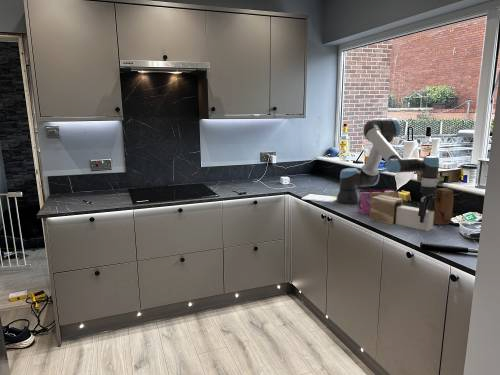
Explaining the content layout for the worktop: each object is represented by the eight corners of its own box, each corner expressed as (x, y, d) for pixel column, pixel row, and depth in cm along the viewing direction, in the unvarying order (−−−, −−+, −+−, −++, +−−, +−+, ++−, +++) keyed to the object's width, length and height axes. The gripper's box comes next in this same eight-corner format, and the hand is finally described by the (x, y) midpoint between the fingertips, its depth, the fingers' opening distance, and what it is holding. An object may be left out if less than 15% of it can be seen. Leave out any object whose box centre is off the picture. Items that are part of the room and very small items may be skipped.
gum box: (361, 214, 233) (362, 193, 230) (355, 211, 240) (356, 190, 238) (397, 212, 236) (398, 191, 233) (390, 209, 243) (392, 189, 241)
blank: (400, 221, 217) (401, 205, 215) (432, 228, 204) (434, 211, 202) (395, 224, 213) (396, 207, 211) (427, 231, 200) (429, 213, 198)
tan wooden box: (379, 215, 229) (380, 194, 226) (401, 220, 219) (402, 198, 216) (370, 219, 222) (371, 197, 219) (392, 224, 212) (394, 201, 209)
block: (440, 220, 219) (443, 187, 215) (452, 223, 212) (456, 189, 208) (428, 223, 214) (431, 189, 209) (440, 226, 207) (444, 191, 203)
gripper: (427, 189, 189) (424, 232, 194) (443, 183, 203) (439, 224, 208) (413, 187, 195) (409, 229, 199) (429, 182, 208) (426, 221, 213)
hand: (425, 226), depth 203 cm, fingers open, 8 cm apart
